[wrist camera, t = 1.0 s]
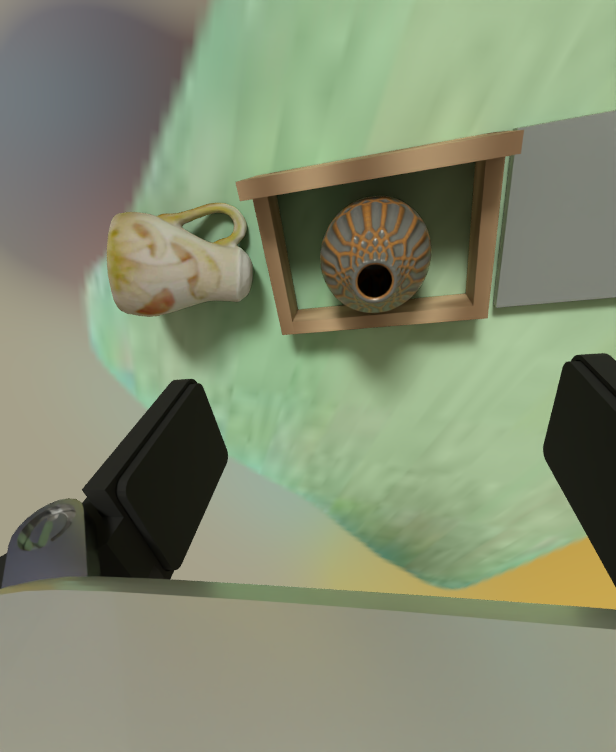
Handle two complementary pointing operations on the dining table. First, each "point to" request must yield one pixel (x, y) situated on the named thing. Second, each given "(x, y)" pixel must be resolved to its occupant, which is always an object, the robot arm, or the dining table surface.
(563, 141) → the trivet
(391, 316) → the wooden frame
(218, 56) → the dining table surface
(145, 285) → the mug
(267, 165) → the dining table surface
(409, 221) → the vase
